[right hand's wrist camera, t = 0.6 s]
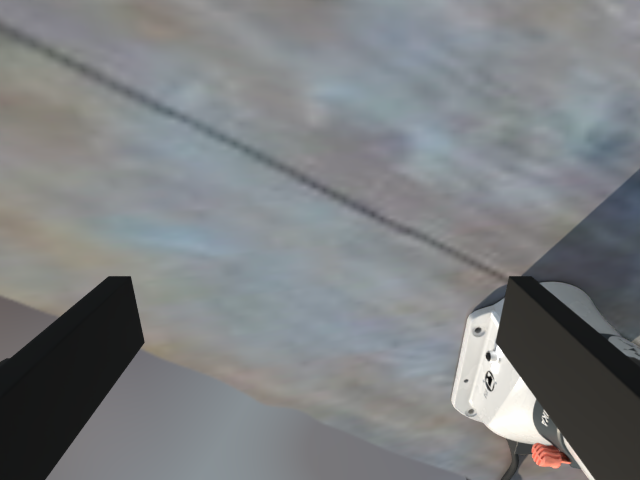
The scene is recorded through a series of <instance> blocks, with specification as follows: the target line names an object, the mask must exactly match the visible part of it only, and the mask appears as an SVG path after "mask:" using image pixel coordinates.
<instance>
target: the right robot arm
mask: <svg viewBox="0 0 640 480" xmlns="http://www.w3.org/2000/svg"><path fill="white" fill-rule="evenodd" d="M144 343H145V342H144V337H143V333H142V328H141V323H140V318H139V313H138V309H137V304H136V299H135V294H134V289H133V285H132V280H131V276H109V277H107V278H106V279H105V280H104V281H103V282H101V283H100V284H99V285H98V286H97V287H95V288H94V289H93V290H92V291H91V292H89V293H88V294H87V295H86V296H85V297H83V298H82V299H81V300H80V301H79V302H77V303H76V304H75V305H74V306H73V307H71V308H70V309H69V310H68V311H67V312H65V313H64V314H63V315H62V316H61V317H59V318H58V319H57V320H56V321H55V322H53V323H52V324H51V325H50V326H49V327H47V328H46V329H45V330H44V331H43V332H41V333H40V334H39V335H38V336H37V337H35V338H34V339H33V340H32V341H31V342H29V343H28V344H27V345H26V346H25V347H23V348H22V349H21V350H20V351H19V352H17V353H16V354H15V355H14V356H13V357H11V358H7V359H5V360H3V361H1V362H0V480H45V479H46V478H47V476H48V475H49V474H50V472H51V471H52V470H53V468H54V467H55V465H56V464H57V463H58V461H59V460H60V459H61V457H62V456H63V454H64V453H65V452H66V450H67V449H68V447H69V446H70V445H71V443H72V442H73V441H74V439H75V438H76V436H77V435H78V434H79V432H80V431H81V429H82V428H83V427H84V425H85V424H86V423H87V421H88V420H89V419H90V417H91V416H92V414H93V413H94V412H95V410H96V409H97V407H98V406H99V405H100V403H101V402H102V401H103V399H104V398H105V396H106V395H107V394H108V392H109V391H110V390H111V388H112V387H113V385H114V384H115V383H116V381H117V380H118V378H119V377H120V376H121V374H122V373H123V372H124V370H125V369H126V367H127V366H128V365H129V363H130V362H131V361H132V359H133V358H134V356H135V355H136V354H137V352H138V351H139V349H140V348H141V347H142V345H143V344H144ZM495 343H496V344H497V345H498V347H499V348H500V349H501V351H502V352H503V354H504V355H505V356H506V358H507V359H508V361H509V362H510V363H511V365H512V366H513V367H514V369H515V370H516V372H517V373H518V374H519V376H520V377H521V378H522V380H523V381H524V383H525V384H526V385H527V387H528V388H529V390H530V391H531V392H532V394H533V395H534V396H535V398H536V399H537V401H538V402H539V403H540V405H541V406H542V407H543V409H544V410H545V412H546V413H547V414H548V416H549V417H550V419H551V420H552V421H553V423H554V424H555V425H556V427H557V428H558V430H559V431H560V432H561V434H562V435H563V436H564V438H565V439H566V441H567V442H568V443H569V445H570V446H571V448H572V449H573V450H574V452H575V453H576V454H577V456H578V457H579V459H580V460H581V461H582V463H583V464H584V465H585V467H586V468H587V470H588V471H589V472H590V474H591V475H592V477H593V478H594V479H595V480H640V360H638V359H636V358H635V357H628V356H626V355H625V354H624V353H623V352H621V351H620V350H619V349H618V348H617V347H615V346H614V345H613V344H612V343H611V342H609V341H608V340H607V339H606V338H605V337H603V336H602V335H601V334H600V333H599V332H597V331H596V330H595V329H594V328H593V327H591V326H590V325H589V324H588V323H587V322H585V321H584V320H583V319H582V318H581V317H579V316H578V315H577V314H576V313H575V312H573V311H572V310H571V309H570V308H569V307H567V306H566V305H565V304H564V303H563V302H561V301H560V300H559V299H558V298H557V297H555V296H554V295H553V294H552V293H551V292H549V291H548V290H547V289H546V288H545V287H543V286H542V285H541V284H540V283H539V282H537V281H536V280H535V279H534V278H533V277H531V276H509V280H508V285H507V289H506V294H505V299H504V304H503V309H502V313H501V318H500V323H499V328H498V333H497V337H496V342H495Z"/></svg>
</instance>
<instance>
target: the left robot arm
mask: <svg viewBox="0 0 640 480" xmlns="http://www.w3.org/2000/svg"><path fill="white" fill-rule="evenodd" d="M540 284H541V285H542V286H543V287H545V288H546V289H547V290H548V291H549V292H551V293H552V294H553V295H554V296H555V297H557V298H558V299H559V300H560V301H561V302H563V303H564V304H565V305H566V306H567V307H569V308H570V309H571V310H572V311H573V312H575V313H576V314H577V315H578V316H579V317H581V318H582V319H583V320H584V321H585V322H587V323H588V324H589V325H590V326H591V327H593V328H594V329H595V330H596V331H597V332H599V333H600V334H601V335H602V336H603V337H605V338H606V339H607V340H608V341H609V342H611V343H612V344H613V345H614V346H615V347H617V348H618V349H619V350H620V351H621V352H623V353H624V354H625V355H626V356H628V357H635V358H636V359H638V360H640V347H638V346H637V345H635V344H634V343H632V342H630V341H629V340H627V339H625V338H623V337H622V336H621V335H620V334H619V333H618V332H617V331H616V330H615V329H614V328H613V327H612V326H611V325H610V324H609V323H608V322H607V321H606V320H605V318H604V317H603V316H602V315H601V314H600V312H599V311H598V310H597V308H596V307H595V305H594V303H593V301H592V300H591V299H590V297H589V296H588V295H587V294H586V293H585V292H584V291H582V290H581V289H579V288H577V287H575V286H573V285H570V284H566V283H562V282H541V283H540ZM504 299H505V298H503V299H502V300H501V301H499V302H498V303H496V304H494V305H492V306H488V307H485V308H482V309H479V310H476V311H474V312H473V313H471V314H470V315H469V317H468V319H467V324H466V329H465V334H464V339H463V344H462V349H461V354H460V359H459V363H458V368H457V373H456V378H455V383H454V388H453V393H452V398H451V402H452V404H453V406H454V407H455V408H456V409H457V410H458V411H459V412H460V413H462V414H463V415H465V416H467V417H469V418H471V419H474V420H476V421H480V422H483V423H484V424H485V425H486V426H487V427H488V428H489V429H490V430H491V431H493V432H494V433H496V434H498V435H500V436H502V437H504V438H506V440H507V441H508V444H509V447H510V450H511V454H512V463H511V465H510V467H509V469H508V470H507V472H506V473H505V475H504V476H503V477H502V479H501V480H510V479H511V477H512V476H513V475H514V473H515V471H516V469H517V467H518V462H519V457H518V454H520V455H522V456H523V455H527V454H532V457H533V458H534V461H535V462H536V464H537V465H540V466H551V467H553V468H558V467H560V465H561V463H567V464H569V465H570V466H571V467H573V468H578V469H582V470H583V472H584V473H585V474H586V476H587V477H588V479H589V480H595V479H594V478H593V477H592V475H591V474H590V472H589V471H588V470H587V468H586V467H585V465H584V464H583V463H582V461H581V460H580V459H579V457H578V456H577V454H576V453H575V452H574V450H573V449H572V448H571V446H570V445H569V443H568V442H567V441H566V439H565V438H564V436H563V435H562V434H561V432H560V431H559V430H558V428H557V427H556V425H555V424H554V423H553V421H552V420H551V419H550V417H549V416H548V414H547V413H546V412H545V410H544V409H543V407H542V406H541V405H540V403H539V402H538V401H537V399H536V398H535V396H534V395H533V394H532V392H531V391H530V390H529V388H528V387H527V385H526V384H525V383H524V381H523V380H522V378H521V377H520V376H519V374H518V373H517V372H516V370H515V369H514V367H513V366H512V365H511V363H510V362H509V361H508V359H507V358H506V356H505V355H504V354H503V352H502V351H501V349H500V348H499V347H498V345H497V344H496V343H495V342H496V337H497V333H498V328H499V323H500V318H501V313H502V309H503V304H504ZM478 327H479V329H477V330H475V329H476V328H478ZM558 449H559V450H560V451H559V450H558ZM466 480H469V479H467V478H466Z"/></svg>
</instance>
